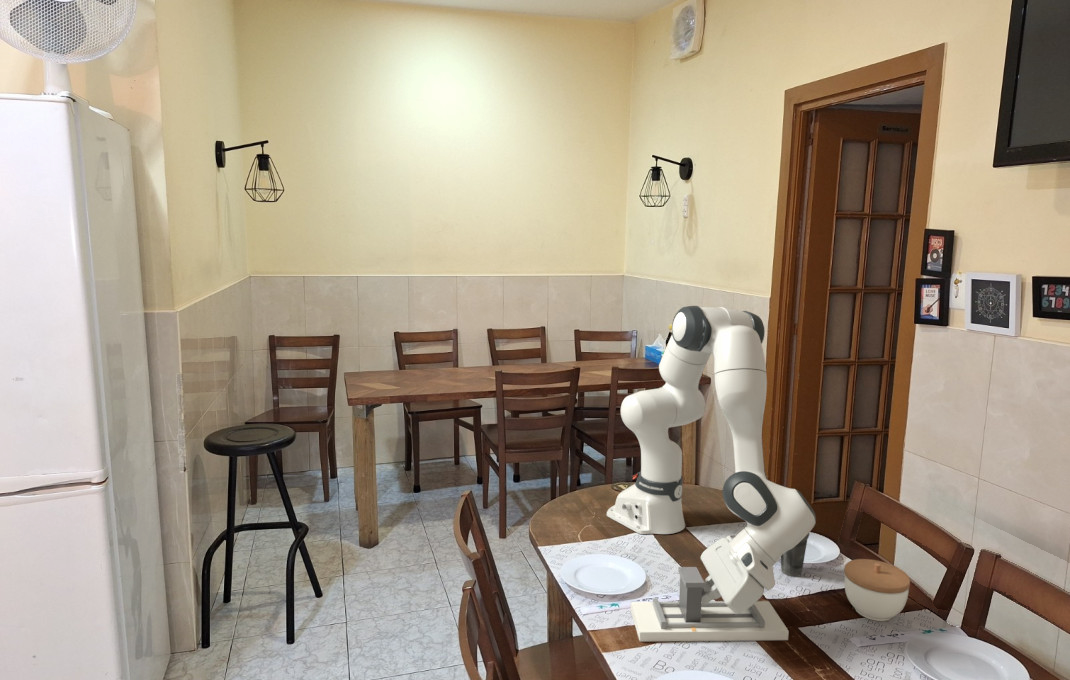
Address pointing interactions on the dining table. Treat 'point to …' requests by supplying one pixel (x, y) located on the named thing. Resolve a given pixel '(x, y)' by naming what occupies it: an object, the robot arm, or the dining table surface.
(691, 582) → the fader tab
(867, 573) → the lidded bowl
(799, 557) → the beverage cup
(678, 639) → the fader console
